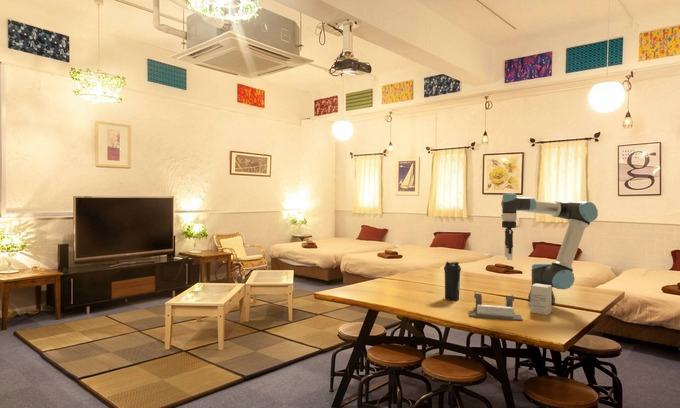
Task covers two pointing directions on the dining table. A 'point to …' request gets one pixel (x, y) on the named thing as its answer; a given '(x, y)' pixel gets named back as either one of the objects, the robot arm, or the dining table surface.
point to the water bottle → (452, 281)
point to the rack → (479, 300)
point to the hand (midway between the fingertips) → (508, 258)
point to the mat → (516, 317)
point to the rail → (495, 310)
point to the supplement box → (541, 298)
